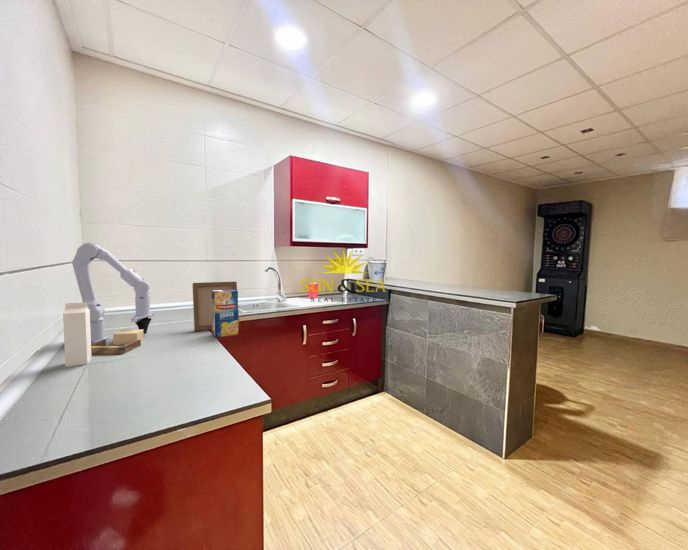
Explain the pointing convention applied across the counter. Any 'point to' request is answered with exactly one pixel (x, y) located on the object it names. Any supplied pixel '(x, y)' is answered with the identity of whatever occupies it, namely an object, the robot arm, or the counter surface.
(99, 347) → the display stand
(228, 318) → the blue cardboard box
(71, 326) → the milk
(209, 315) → the photo frame
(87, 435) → the counter surface
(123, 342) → the carton
